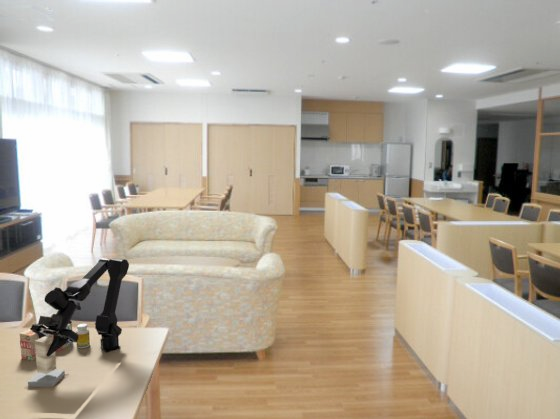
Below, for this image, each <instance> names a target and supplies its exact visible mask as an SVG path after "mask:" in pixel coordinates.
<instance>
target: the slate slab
mask: <svg viewBox="0 0 560 419" xmlns="http://www.w3.org/2000/svg"><path fill="white" fill-rule="evenodd" d="M65 374H66V372H65V370H64V369H55V370H53V371H51V372H49V373H48V374H44V373H39V372H37V373H36V374H34V375H33V376H32V377H31V379H29V380H28V381H27V385H28V387H53V386H54V385H55V384H56V383H57V382H58V381H59V380H60V379H61V378H62V377H63V376H64V375H65Z"/></svg>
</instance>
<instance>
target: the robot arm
mask: <svg viewBox="0 0 560 419" xmlns="http://www.w3.org/2000/svg"><path fill="white" fill-rule="evenodd" d="M129 267H130V263H129V261H128V260H127V259H125V258H116V257H114V258H113V257H112V258H105V257H102V258H99V259H98V262H97V263H95V265H94V266H93V267H91V269H90V270H88V272H87V273H86V274H85V275H84V276H83V277H82V278H80V279H79V280H76V281H74V282H72V283H71V284H70V285H68V286H67V288H65V289H64V290H63V289H62V288H60V287H57V286H56V287H54V289H52V290H50V291H49V292H48V293H46V295H45V297H44V302H45V304H47V305H49V306H50V307H51V308H53V309H54V310H55V311H56V313H53V314H52V315H51V316H45V315H40V316H39V319H38V323H33V324H32V325H31V327H30V328H29V329H30V330H31V331H33V332H34V333H36V334H38V337H39V339H40V338H42V337H44V336H47V337H48V336H49V334H51V335H53V342H52V344H51V346H50V348H49V350H48V353H47V356H50V355H51V354H53V353H54V352H55V351H56V350H58V349H59V348H60V347H62V346H63V345H65V344H66V343H69V342H68V339H70V341H71V342H73V343H77V340H78V338H79V336H78V334H77V333H76V331H74V330H73V329H72V330H70V329H66V328H67V326H68V324H72V323H73V322H72V321H71V320H72V318H73V316H74V314H75V312H76V310H77V311H81V310H82V308H81V304H80V302H83V301H85V300H86V299H87V297H88V296H89V294H90V293H91V289H92V287H93V286H94V285H95V283H97V281H99V279H100V278H101V277H103V275H104V274H105V273H106V272H107V273H108V276H109V281H108V285H107V286H108V287H107V289H106V290H107V291H106V294H105V299H104V305H103V310H102V312H101V314H98V315H96V318H95V322H94V325H95V326H94V328H95V330H96V332H97V334H98V336H100V337H101V338H100V340H99V341H100V349H102V350H103V351H104V352H105V353H108V352H111V351H115V350H119V349H121V346H120V343H119V342H120V341H119V340H120V339H119V336H121V334H122V331H123V329H122V327H120V326H119V325H118V318H117V315H116V309H117V306H118V305H117V304H118V300H119V296H120V289H121V284H122V280H123V279H124V278H125V277H126V275H127V274H128V270H129ZM76 301H77V302H76ZM43 325H44V326H43ZM45 326H46V327H48V328H46V327H45ZM55 353H56V352H55Z"/></svg>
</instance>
